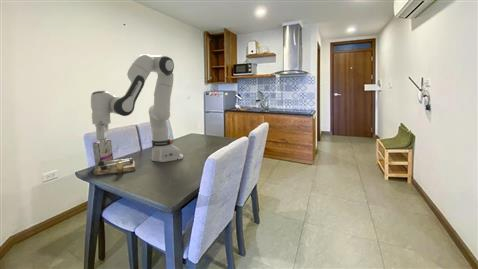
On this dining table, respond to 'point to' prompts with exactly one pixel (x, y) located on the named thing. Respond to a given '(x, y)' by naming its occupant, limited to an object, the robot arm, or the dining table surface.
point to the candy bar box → (102, 151)
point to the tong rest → (114, 169)
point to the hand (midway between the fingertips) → (103, 144)
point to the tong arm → (113, 165)
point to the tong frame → (113, 161)
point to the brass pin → (120, 168)
